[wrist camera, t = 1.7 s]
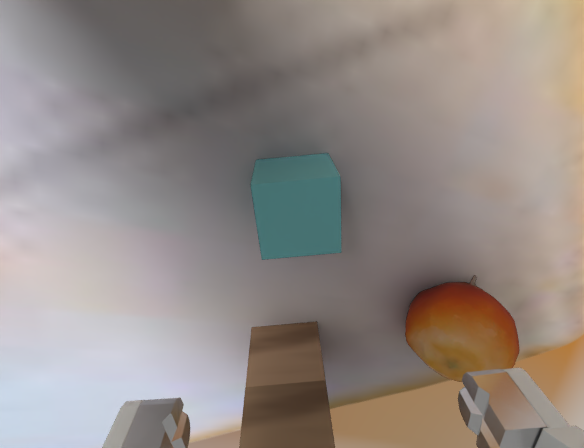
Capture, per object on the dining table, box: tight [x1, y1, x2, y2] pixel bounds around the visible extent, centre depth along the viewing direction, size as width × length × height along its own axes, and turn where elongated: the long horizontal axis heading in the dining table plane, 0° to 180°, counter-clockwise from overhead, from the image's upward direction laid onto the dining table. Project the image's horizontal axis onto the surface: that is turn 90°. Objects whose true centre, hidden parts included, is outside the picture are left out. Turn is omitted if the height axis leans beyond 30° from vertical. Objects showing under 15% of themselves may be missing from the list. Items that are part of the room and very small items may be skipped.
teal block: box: [250, 153, 341, 260], centre depth 21 cm, size 5×5×5 cm
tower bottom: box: [246, 322, 325, 387], centre depth 28 cm, size 6×6×6 cm
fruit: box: [405, 275, 519, 382], centre depth 26 cm, size 8×8×8 cm
